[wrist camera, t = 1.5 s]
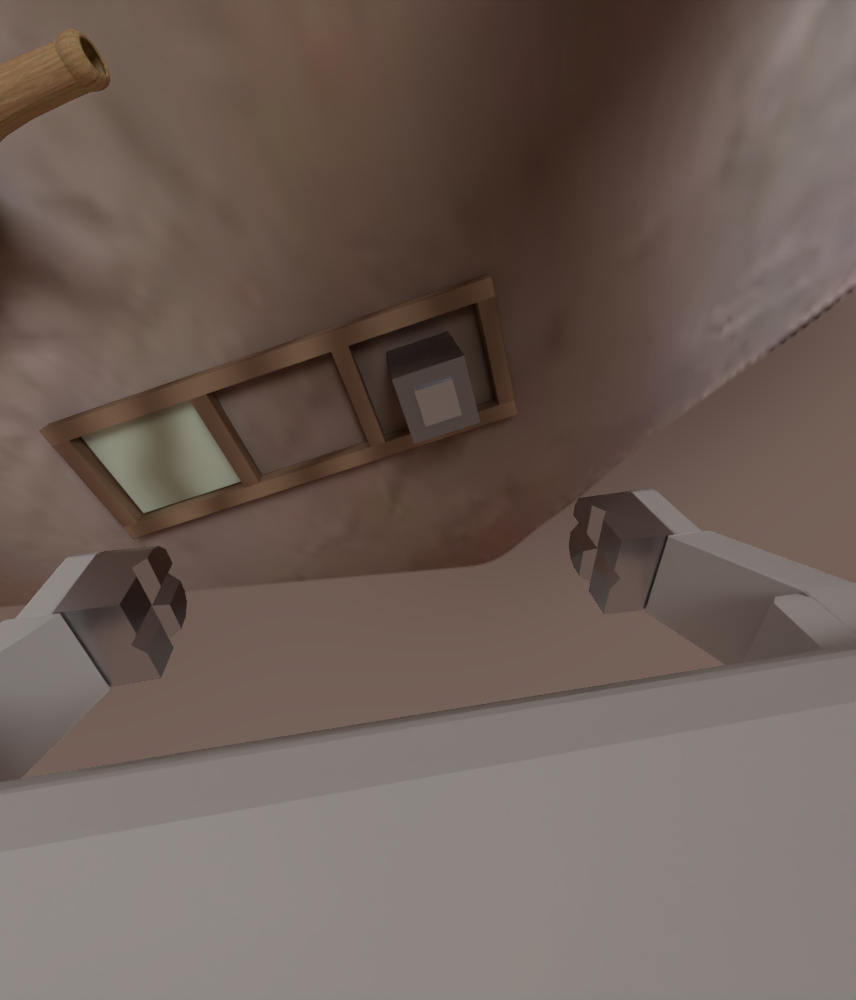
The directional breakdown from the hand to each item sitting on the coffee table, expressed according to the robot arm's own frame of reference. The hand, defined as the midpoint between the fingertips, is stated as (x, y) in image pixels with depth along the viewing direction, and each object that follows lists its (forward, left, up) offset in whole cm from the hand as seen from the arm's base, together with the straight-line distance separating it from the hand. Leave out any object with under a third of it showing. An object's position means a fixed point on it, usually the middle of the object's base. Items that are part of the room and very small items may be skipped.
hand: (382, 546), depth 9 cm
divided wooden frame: (+8, +5, -25) cm, 27 cm away
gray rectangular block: (-3, +5, -25) cm, 26 cm away
